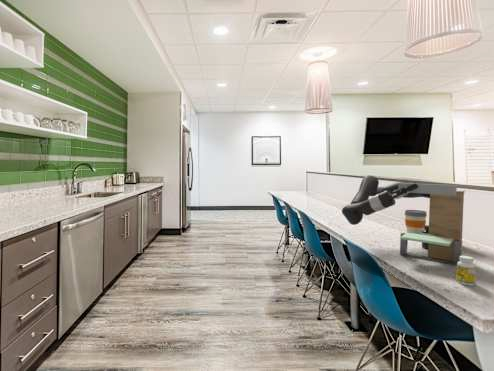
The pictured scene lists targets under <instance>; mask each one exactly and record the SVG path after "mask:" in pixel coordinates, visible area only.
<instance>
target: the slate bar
mask: <svg viewBox="0 0 494 371" xmlns="http://www.w3.org/2000/svg"><path fill="white" fill-rule="evenodd" d="M415 183H416V182H411V183H399V184H398V189H400V188H405V187H407V188H408V186H410V185H412V184H415ZM416 184H417V183H416ZM417 186H418V188H416V189H414V190H412V191H409V193H424V194H440V195H456V191H458V190H457V189H458V188H457V187H458V186H457V184H456V185H455V184H437V183H432V184H431V183H419V184H417ZM400 192H401V191H400Z"/></svg>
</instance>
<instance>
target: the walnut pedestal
mask: <svg viewBox="0 0 494 371" xmlns="http://www.w3.org/2000/svg"><path fill="white" fill-rule="evenodd" d="M464 196H465V190H456V195H440V194H430V198H429V207H428V208H429V210H428V211H429V212H428V225H429V234H433V235H439V237H444V238H452V239H453V242H452V243H451V244H450V246H444V245H437V244H431V243H428V249H427V257H433V258H439V259H444V260H450V261H454V244H455V240H460V241H463V228H464V227H463V222H464V198H465V197H464Z"/></svg>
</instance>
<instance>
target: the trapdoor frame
mask: <svg viewBox="0 0 494 371" xmlns="http://www.w3.org/2000/svg"><path fill="white" fill-rule="evenodd" d="M406 233H407V232H401V233H400V236H399V237H400V239H399V245H400V246H399V255H400V256H405V257H410V258H416V259H420V260H426V261H432V262H436V263H437V262H438V263H442V264H449V265H454V266H457V263H458V262H459V261H460V259H459V257H460V256H463V240H462V241H460V240H455V244H454V261H450V260H444V259H439V258H433V257H428V255H422V254H421V255H419V254H415V253H410V252H408V245H409V243H408V241H409V240H404V239H401V236H403V235H404V234H406Z"/></svg>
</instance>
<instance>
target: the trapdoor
mask: <svg viewBox="0 0 494 371" xmlns="http://www.w3.org/2000/svg"><path fill="white" fill-rule="evenodd" d="M405 233H406V234H404V235H403V236H401V235H400V237H401V239H404V240H408V241H413V242H417V243H418V242H419V243H422V242H424V243H431V244H437V245H444V246H450V244H451V243H452V242H453V239H452V238H444V237H439V235H433V234H425V233H421V234H414V233H407V232H405Z"/></svg>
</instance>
